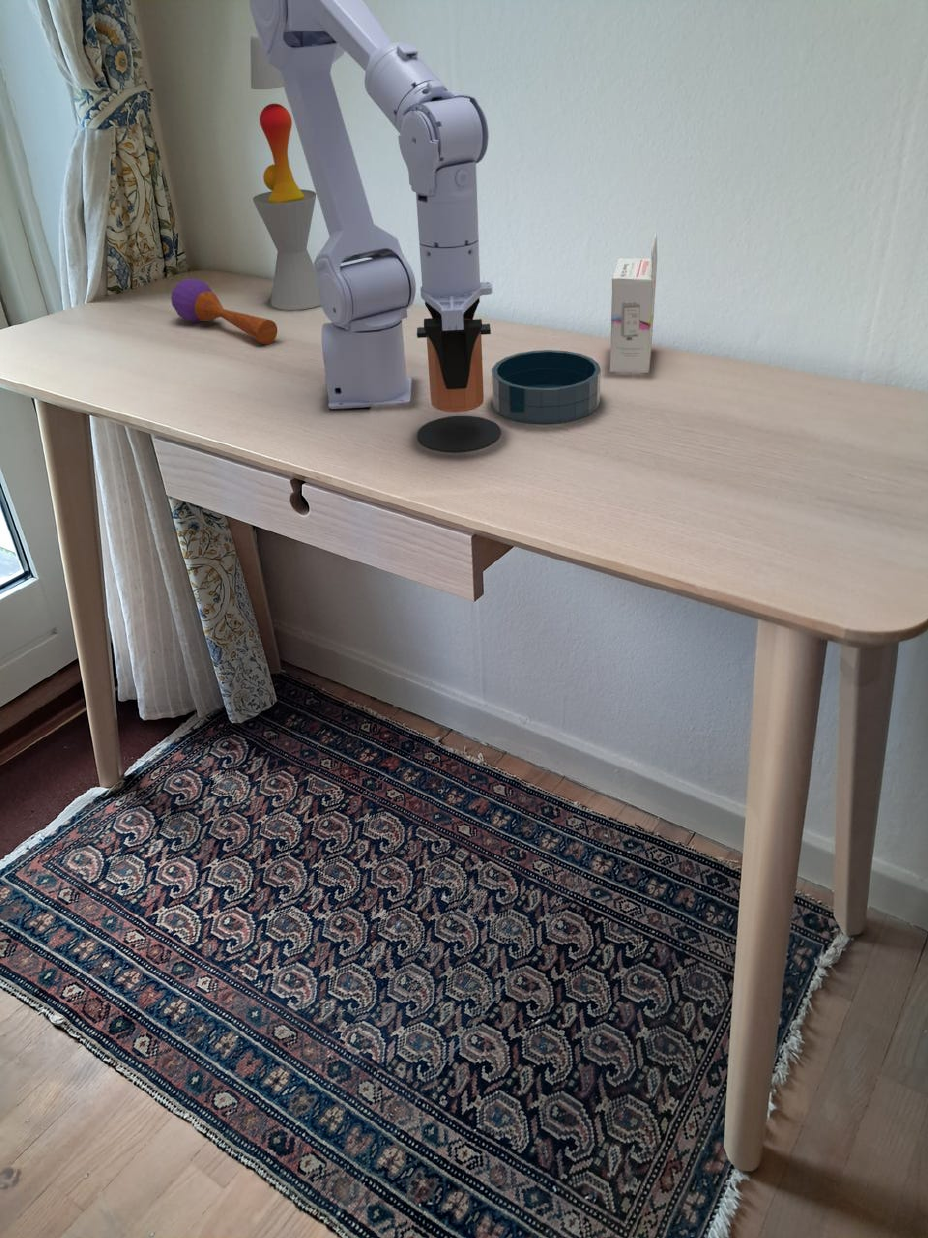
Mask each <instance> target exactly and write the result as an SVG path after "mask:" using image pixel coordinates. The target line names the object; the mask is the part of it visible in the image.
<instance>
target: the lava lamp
mask: <svg viewBox="0 0 928 1238" xmlns="http://www.w3.org/2000/svg"><path fill="white" fill-rule="evenodd" d="M250 88H251V89H252V90H272V89H273V90H274V89H281V88H284V85H283V82H282V79H281V75H280V72H279V70H278V69H277V68H275V67H273V66H272V65H270V64H268V62H267V60H266V56H265V53H264V50H263V48H262V45H261V42H260V39H259V35H258V32H257V33H253V34H251V36H250ZM292 121H293V120H292V116H291V114H290V112H289V110H288V109H287V108H286V107H285V106H283V105H282V104H279V103H270V104H267V105H265V106H264V107H263V108H262V109H261V111H260V114H259V125H260V128H261V130H262V132H263V134H264V137H265V139H266V141H267V144H268V146H269V149H270V151H271V154H272V159H273V164H271V165H269V166H267V167H266V168H265V169H264V172H263V176H262V177H263V178H262V179H263V183H264V185H265V187H266V188H267V189H268V190H270V191H266V192H263V193H262V192H261V193H259V194H257V195H255V196H253V198H252V201H253V203H254V205H255V208H256V210H257V212H258V213H259V216H260V218H261V220H262V222H263V224H264V226H265V229H266V230H267V232H268V234H269V236H270V238H271V240H272V243H273V244H274V246H275V249H276V251H277V252H276V253H277V254H276V260H275V269H274V274H273V283H272V288H271V289H272V290H271V297H270V305H271V307H272V308H274V309H277V310H282V311H301V310H308V309H312V308H315V307H316V308H317V307H319V306H321V304H320V300H319V296H318V282H317V277H316V272H315V268H314V261H313V259H312V258H311V256H310V253H309V251H308V249H307V247H308V243H309V238H310V234H311V233H310V231H311V226H312V222H313V217H314V216H313V215H314V211H315V205H316V200H317V194H316V191H315V190H314V191H313V190H309V189H300V188H299V186H298V184H297V183H296V181H295V179H294V177H293V174H292V171H291V168H290V160H289V144H290V136H291V130H292V124H293V122H292Z"/></svg>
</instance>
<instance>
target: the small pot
mask: <svg viewBox="0 0 928 1238" xmlns="http://www.w3.org/2000/svg"><path fill="white" fill-rule="evenodd" d="M464 320H471V319H464ZM491 328H492V327H491V324H490V323H482V328H481V330H480V333H479V335H478V337H477V339H476V342H475V344H474V348H473V352H472V357H471V364H470V372H469V379H468V384H467V387H466V388H464V389H446V387H445V384H444V381H443V377H442V373H441V369H440V364H439V360H438V357H437V354H436V351H435V349H434V346H433V344H432V342H431V340H430V339H429V337H428V336H427V334H426V332H425V330H424V326H422V327H421V326H420V327H416V338H417V339H423V338H424V339H425V338H426V346H427V349H426V350H427V360H428V361H427V364H428V376H429V390H430V403H431V406H432V407H433V408H434V409H436V410H438V411H440V412H444V413H465V412H469V411H474V410H476V409H478V408H479V407H481V406H482V405H483V404H484V401H485V400H484V398H485V397H484V371H483V369H484V367H483V345H482V344H483V343H482V335H483V336H484V335H491V334H492V329H491Z"/></svg>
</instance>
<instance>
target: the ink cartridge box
mask: <svg viewBox="0 0 928 1238" xmlns="http://www.w3.org/2000/svg"><path fill="white" fill-rule="evenodd" d="M650 253H651V254H650V255H651V258H646V257H645V258H643V257H641V258H637V257H635V258H633V257H627V258H626V257H623V258H622V257H621V258H617V259H616V263H615V265H614V269H613V271H612V274H611V303H610V304H611V307H610V309H611V310H610V313H611V314H610V346H609V347H610V349H609V372H610V373H643V374H648V373H650V372H649V371H650V366H651V355H652V345H653V343H652V342H653V332H654V331H653V330H654V316H655V305H656V304H655V301H656V287H657V286H656V285H657V271H658V234H657V232H655V233H654V237H653V241H652V246H651V251H650Z"/></svg>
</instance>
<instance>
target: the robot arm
mask: <svg viewBox="0 0 928 1238" xmlns="http://www.w3.org/2000/svg"><path fill="white" fill-rule="evenodd" d="M249 8H250V12H251V16H252V19H253V22H254V25H255V29H256V32H257V33H258V35H259V39H260V42H261V45H262V48H263V50H264V53H265V56H266V60H267V62H268V64H270V65H272V66H273V67H275V68H277V69H278V70H279V72H280V75H281V79H282V82H283V85H284V87H283V89H284V91H285V96H286V98H287V102H288V105H289V108H290V112H291V114H292V118H293V121H294V124H295V127H296V131H297V134H298V138H299V141H300V144H301V148H302V151H303V154H304V157H305V161H306V164H307V167H308V171H309V173H310V174H309V175H310V177H311V180H312V183H313V187H314V191H315V193H316V198H317V200H318V203H319V207H320V210H321V213H322V216H323V220H324V223H325V226H326V229H327V234H328V239H327V240H326V242H325V243H324V245H323V246H322V248H321V249H320V250H319V252H318V254H317V255H316V257H315V259H314V261H313V265H314V268H315V272H316V277H317V282H318V296H319V300H320V304H321V305H320V307H321V309H322V311H323V313H324V315H325V316H326V318H327V319H328V320H329V321H330V322H326V323H325V322H324V323H322V326H321V351H322V352H321V353H322V361H323V367H324V369H323V370H324V380H325V385H326V391H327V399H328V409H329V410H340V409H342V410H343V409H360V408H361V409H363V408H371V407H372V405H388V404H405V403H406V404H407V403H410V402H411V393H412V377H411V376H407V367H406V366H407V365H406V352H405V341H404V328H403V327H404V326H403V320H404V319H407V318H408V310H409V309H410V308H411V307H412V305H413V304H414V302H415V297H416V294H417V293H416V292H417V284H416V277H415V274H414V271H413V269H412V267H411V264H410V263H409V262H408V260H407V258H406V257H405V254H404V253H403V250H402V248H401V245H400V241H399V239H398V237H396V236H394V235H393V234H391V233H389V232H388V231H386V230H385V229H382V228H381V227H379V226H378V225H376V224H375V223H374V222H375V221H374V219H373V215H372V213H371V209H370V205H369V202H368V197H367V195H366V191H365V188H364V185H363V181H362V178H361V174H360V171H359V167H358V164H357V161H356V157H355V153H354V150H353V147H352V145H351V144H352V143H351V140H350V137H349V133H348V130H347V127H346V123H345V120H344V116H343V113H342V109H341V106H340V102H339V99H338V96H337V91H336V89H335V85H334V82H333V78H332V75H331V70H332V67H333V64H334V63H335V62H336V61H338V60H339V59H340V58H341V57H343V56H344V54H345V53H347V54H348V56H349V57H350V58H352V59H353V61H354V62H355V63H356V64H357V65H359V67H360V68H361V69H362V70H364V72H365V73H364V87H365V91H366V92H367V95H368V96H369V97H370V98H371V99H372V101H373V102H374V103H375V105H376V106H377V107H378V108H379V110H380V111H381V112H382V113H383V115H384V116H385V117H386V118H387V119H388V121H389V122H390V123H391V124H392V126H393V127H394V128H395V129H396V131H397V132H398V134H399V135H398V136H397V137H398V145H399V149H400V153H401V157H402V159H403V161H404V163H405V165H406V169H407V172H408V174H407V175H408V185H409V186H410V189H411V191H412V192H413V193H415V200H416V214H417V216H416V217H417V229H418V244H419V259H420V260H419V262H420V270H421V271H420V274H421V287H420V289H419V290H420V298H421V299H422V300H423V301H424V305H425V307H426V308H427V310H428V312H429V314H430V316H431V317H430V318H429V317H428V318H424V319H423V327H424V330H425V332H426V334H427V336H428V337H429V339H430V340H431V342H432V344H433V346H434V349H435V351H436V354H437V357H438V360H439V364H440V369H441V373H442V377H443V381H444V384H445V387H446V389H464V388H466V387H467V384H468V379H469V372H470V364H471V357H472V352H473V348H474V344H475V342H476V339H477V337H478V335H479V333H480V330H481V328H482V324H483V320H482V318H480V319H479V318H478V319H477V318H476V319H474V317H475V313H476V311H477V310H478V309H477V308H478V306H479V304H480V303H481V299H480V298H481V297H482V296H488V295H489V296H490V295H492V294H493V283H492V282H490V281H481V268H480V267H481V264H480V241H479V238H480V237H479V209H478V208H479V207H478V183H477V182H478V180H477V164H479V163H480V162H482V160H484V157H485V156H486V153H487V150H488V146H489V140H490V139H489V137H490V136H489V134H490V133H489V125H488V120H487V117H486V115H485V114H486V113H485V111H484V110H483V108H482V106H481V105H480V104H479V101H478V100H477V98H476V97H475V96H474V95H473V94H469V93H463V94H459V92H457V91H456V90H453V91H450V90H449V89H448V88H447V87H446V86H445V84H444V83H443V82H442V80H440V78H439V77H438V76H437V74H435V72H434V71H433V70H432V69H431V68H430V66H429V65H428V64H427V63H426V62H425V61H424V59H423V58H422V57H421V56H420V54H419V51H418V49H417V48H416V47H415V46H414V45H413V44H412V43H406V42H401V41H395V42H392V40H391V38H390V37H389V35H388V34H387V33H386V31H385V30H384V29H383V27H382V26H381V24H380V22H379V21H378V19H377V18H376V16H375V15H374V14H373V12H372V11H371V10H370V7H368V5H367V4H366V2H365V1H364V0H249ZM367 258H368V259H367ZM362 259H364V260H362ZM359 260H361V261H359ZM354 261H356V262H354ZM349 262H351V263H349ZM345 263H348V264H345ZM342 264H344V265H342ZM464 319H471V320H464Z"/></svg>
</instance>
